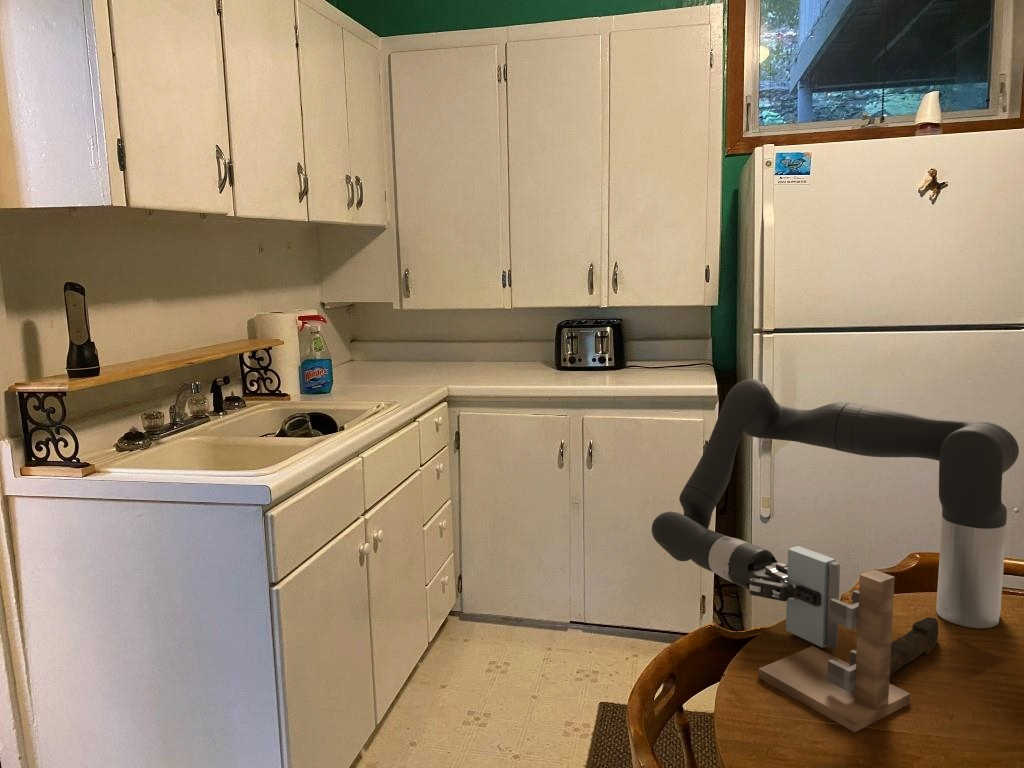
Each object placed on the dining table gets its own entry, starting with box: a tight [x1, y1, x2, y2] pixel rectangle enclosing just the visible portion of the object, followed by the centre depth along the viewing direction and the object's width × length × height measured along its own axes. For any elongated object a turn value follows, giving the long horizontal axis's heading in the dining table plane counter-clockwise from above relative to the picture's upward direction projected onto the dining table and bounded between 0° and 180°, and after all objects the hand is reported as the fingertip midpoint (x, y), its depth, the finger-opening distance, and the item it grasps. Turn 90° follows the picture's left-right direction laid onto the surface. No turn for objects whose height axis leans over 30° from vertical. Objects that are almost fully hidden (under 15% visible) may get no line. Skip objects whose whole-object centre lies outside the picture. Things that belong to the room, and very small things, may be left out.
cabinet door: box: [785, 545, 841, 650], centre depth 122 cm, size 2×9×14 cm, turn 30°
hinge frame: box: [758, 569, 911, 733], centre depth 109 cm, size 12×16×20 cm
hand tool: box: [890, 617, 939, 679], centre depth 117 cm, size 19×4×5 cm, turn 124°
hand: (825, 597), depth 120 cm, fingers closed on cabinet door, 2 cm apart
